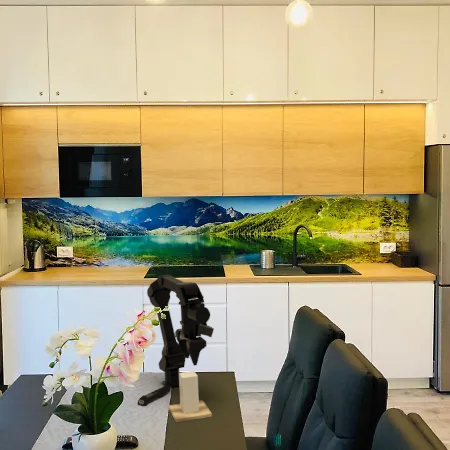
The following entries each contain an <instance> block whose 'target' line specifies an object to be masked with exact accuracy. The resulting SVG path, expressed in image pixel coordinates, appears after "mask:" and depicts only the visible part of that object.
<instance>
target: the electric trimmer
mask: <svg viewBox="0 0 450 450" xmlns="http://www.w3.org/2000/svg"><path fill="white" fill-rule="evenodd" d="M170 391H171V387H170V385H169V384H168V385H166V386H165V385H163V386H161V387H160V388H158V389H155V390H154V391H151V392H149V393H147V394H145V395H141V396H140V397H139V398H138V401H137V404H136V405H138V406H139V407H146V406H147V405H148V404H149V403H151V402H152V401H154V400H157V399H160V398H162V397H164V396H165V395H166V394H168V393H169V392H170Z"/></svg>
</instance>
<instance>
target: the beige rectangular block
mask: <svg viewBox="0 0 450 450" xmlns="http://www.w3.org/2000/svg"><path fill="white" fill-rule="evenodd" d="M199 398H200V397H199V375H198V374H197V373H196V371H195V370H192V371H183V372H179V404H180V408H181V410H182V411H183V413H184V414H185V413H192V412H198V411H199V401H200V399H199Z"/></svg>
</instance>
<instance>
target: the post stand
mask: <svg viewBox="0 0 450 450" xmlns="http://www.w3.org/2000/svg"><path fill="white" fill-rule="evenodd" d="M168 410H169V412H170V414H171V416H172V417H173V420H174V421H175V423H181V422H187V421H193V420H200V419H204V418H212V417H213V414H212V412H211V410H210V409H209V408H208V406H207V404H206V403H205V402H204V400H202V399H201V400H200V399H199V411H198V412H192V413H185V414H184V413H183V411H182V410H181V408H180V403H174V404H170V405H168Z"/></svg>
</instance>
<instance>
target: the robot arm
mask: <svg viewBox="0 0 450 450" xmlns="http://www.w3.org/2000/svg"><path fill="white" fill-rule="evenodd" d="M198 285H199V284H197V283H196V282H192V281H190V282H189V281H187V282H186V281H185V282H184V281H183V280H180V279H178V278H176V277H175V276H172V275H171V274H164V275H163V274H162V275H159V276H157V278H156V279H155V280H153V282H151V283H150V284H149V285H148V288H147V291H146V295H147V297H148V299H149V303H150V304H151V305H152V306H153V307H154V308H155V307H160V308H161V310H163V309H164V308H165V306H168V307H169V302H170V299H171V292H173V293H175V296H176V298H177V299H178V300H179V301H178V305H180V320H179V324H180V325H181V328H177V329H176V330H175V329H174V325H173V321H172V317H171V312H170V310H169V311H162V312H161V313H163V314H165V315H166V319H162V318H161V313H160V312H159V313H157V312H156V314H157V319H158V323H159V322H160V324H159V327H160V332H161V337H162V341H163V347H162V349H161V358H160V360H159V362H158V367H159V370H161V371H162V372H164V380H162V382H161V383H162V384H163V386H166V385H168V384H169V385H170V388H173V387H178V386H179V373H180V369H183V368H185V364H186V359H189V358H190V360H191V362H192V365H193V366H198V363H199V358H200V353H201V351H202V350H204V349H205V348H206V347H207V340H206V339H205V338H204V337H202V336H207V337H209V338H212V337H213V333H214V327H212V326H210V325H208V321H209V320H210V318H211V311H210V310H209V309H208V307H206V305H205V300H204V298H205V297H204V295H203V293H202V291H201V289H200V287H199V286H198ZM174 330H175V331H174ZM179 387H180V386H179Z"/></svg>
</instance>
